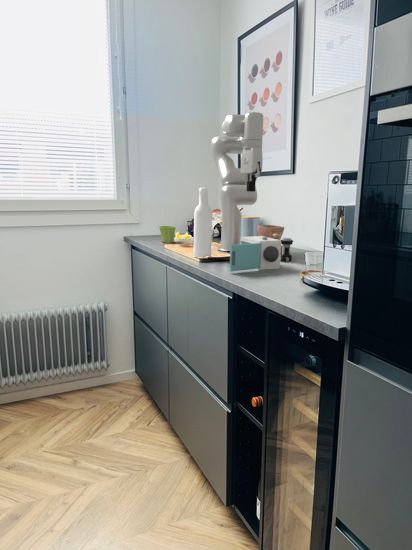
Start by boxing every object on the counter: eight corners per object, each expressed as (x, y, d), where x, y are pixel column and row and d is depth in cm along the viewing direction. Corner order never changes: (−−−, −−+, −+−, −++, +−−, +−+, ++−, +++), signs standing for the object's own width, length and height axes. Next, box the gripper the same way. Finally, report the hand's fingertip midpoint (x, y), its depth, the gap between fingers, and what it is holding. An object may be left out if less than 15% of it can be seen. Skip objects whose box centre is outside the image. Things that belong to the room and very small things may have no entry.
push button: (281, 262, 173) (282, 239, 170) (274, 260, 177) (275, 237, 175) (294, 262, 175) (295, 238, 173) (287, 259, 180) (288, 237, 178)
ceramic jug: (290, 260, 179) (293, 227, 176) (258, 260, 177) (260, 227, 174) (277, 254, 197) (279, 224, 194) (247, 254, 194) (249, 223, 191)
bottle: (196, 258, 177) (198, 187, 171) (190, 255, 184) (191, 187, 178) (214, 258, 180) (215, 188, 174) (207, 255, 187) (208, 187, 181)
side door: (231, 271, 149) (232, 245, 147) (229, 271, 150) (230, 244, 148) (261, 268, 156) (262, 243, 154) (259, 267, 157) (260, 242, 155)
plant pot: (156, 241, 228) (156, 225, 226) (172, 240, 232) (172, 225, 230) (162, 243, 219) (162, 227, 218) (178, 243, 223) (178, 227, 221)
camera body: (239, 263, 169) (240, 234, 167) (260, 262, 173) (261, 234, 171) (260, 270, 155) (261, 239, 153) (282, 269, 160) (283, 238, 157)
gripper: (235, 146, 171) (234, 190, 175) (254, 143, 158) (252, 191, 162) (250, 147, 174) (249, 191, 178) (271, 144, 161) (268, 192, 165)
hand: (250, 191), depth 170 cm, fingers closed
